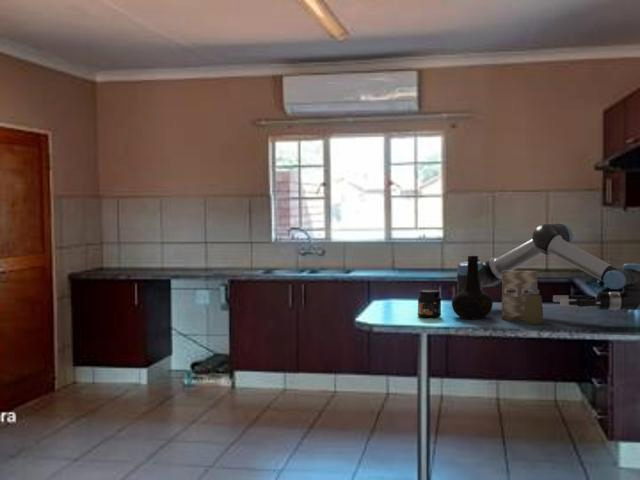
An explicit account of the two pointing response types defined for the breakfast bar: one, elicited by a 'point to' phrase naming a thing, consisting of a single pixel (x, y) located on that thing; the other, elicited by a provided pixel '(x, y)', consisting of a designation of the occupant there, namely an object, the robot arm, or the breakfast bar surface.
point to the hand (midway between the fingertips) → (556, 300)
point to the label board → (516, 292)
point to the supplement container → (429, 304)
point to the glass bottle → (472, 295)
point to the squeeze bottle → (533, 306)
